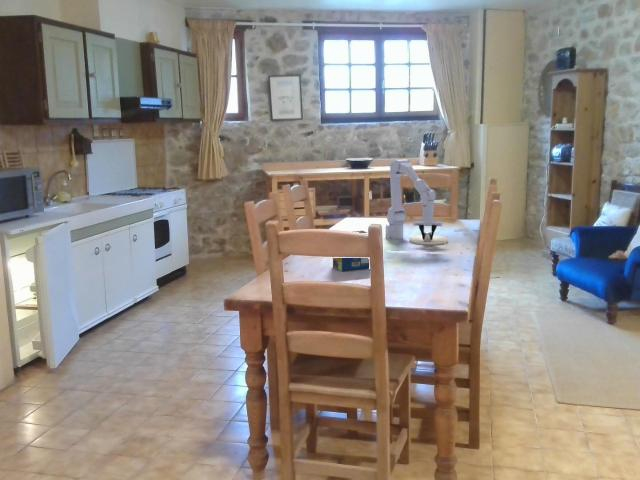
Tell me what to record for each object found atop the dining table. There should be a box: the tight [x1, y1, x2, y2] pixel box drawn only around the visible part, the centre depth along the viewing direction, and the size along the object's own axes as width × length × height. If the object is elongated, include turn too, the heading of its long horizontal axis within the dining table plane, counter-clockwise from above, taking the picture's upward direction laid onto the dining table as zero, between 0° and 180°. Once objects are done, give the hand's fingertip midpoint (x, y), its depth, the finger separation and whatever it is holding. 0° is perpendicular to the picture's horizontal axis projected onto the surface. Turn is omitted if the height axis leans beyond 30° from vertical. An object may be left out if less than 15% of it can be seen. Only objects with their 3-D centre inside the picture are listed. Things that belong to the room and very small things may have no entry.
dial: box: [408, 231, 449, 246], centre depth 321 cm, size 20×20×6 cm
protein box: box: [332, 230, 369, 272], centre depth 269 cm, size 10×15×16 cm
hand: (427, 239), depth 314 cm, fingers closed on dial, 4 cm apart
